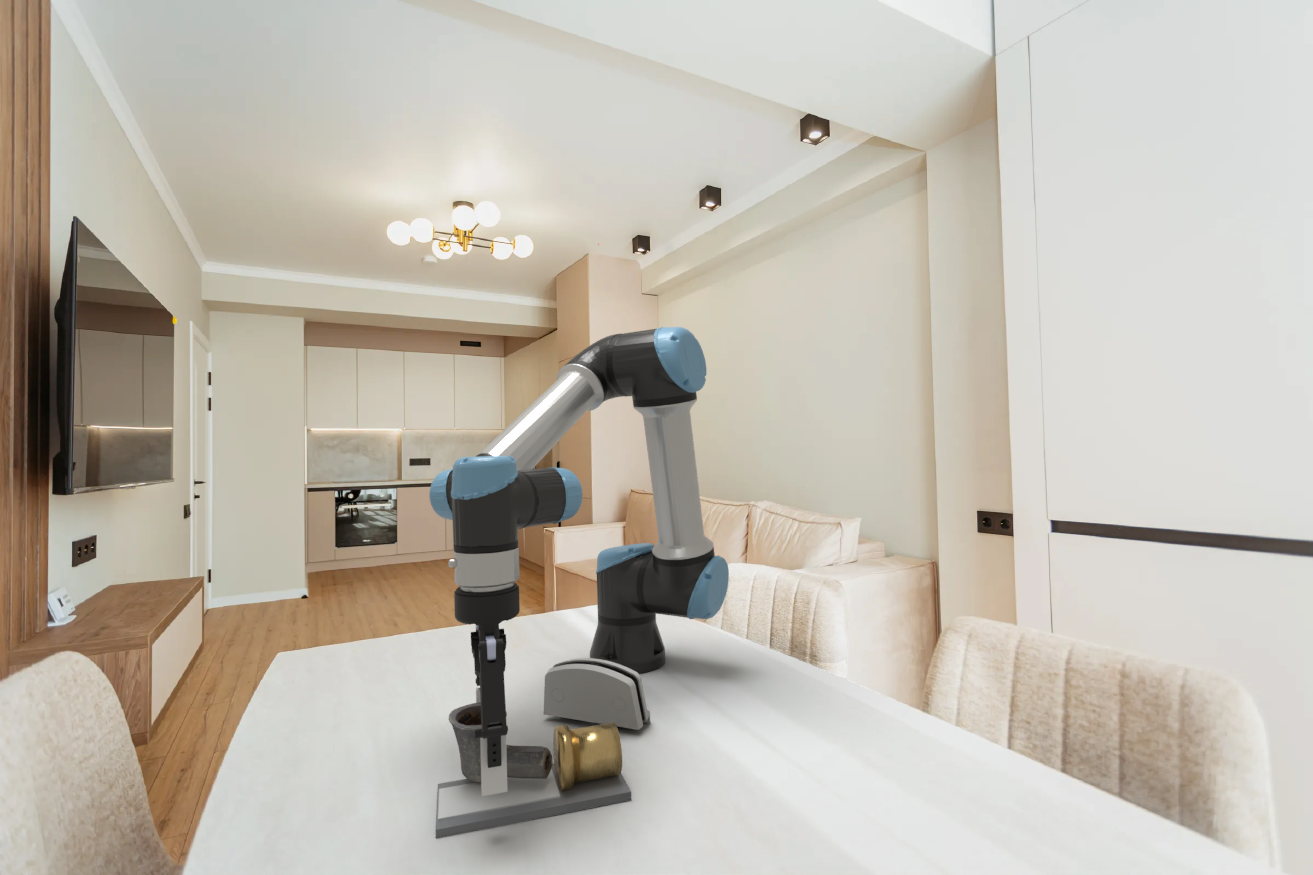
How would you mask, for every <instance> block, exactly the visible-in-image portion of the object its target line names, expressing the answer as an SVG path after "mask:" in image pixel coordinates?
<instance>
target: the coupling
mask: <svg viewBox="0 0 1313 875" xmlns="http://www.w3.org/2000/svg"><path fill="white" fill-rule="evenodd" d="M552 741H553V742H552V743H553V746H552V747H553V750H552V751H553V764H554V765H555V773H556V777H557V781H558V784H559V787H560V790H561V791H564V790H570V789H573V787H574V783H578V782H583V781H588V780H594V779H599V778H605V777H610V776H615V775H620V774H621V773H622V770H623V751H622V750H623V749H622V743H621V742H622V741H621V737H620V731H619V729H618V726H616V724H615V723H607V724H596V725H590V726H582V727H577V728H571V729H570V727H569V725H568V724H562V725H556V726H554V729H553V739H552Z"/></svg>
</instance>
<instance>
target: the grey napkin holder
mask: <svg viewBox="0 0 1313 875" xmlns="http://www.w3.org/2000/svg"><path fill="white" fill-rule="evenodd" d="M543 688H544V689H543V690H544V692H543V693H544V694H543V715H545V716H552V717H557V718H565V719H571V720H576V721H582V722H588V723H593V724H598V725H601V724H607V723H615V724H616V726H617V728H618V727H619V728H624V729H630V730H638V731H639V730H641V729H642V728H643V727H644V724H646V725H647V724H648V725H650V724H651V723H652V721H651V712H650V710H649V709H648V708H647V703H646V698H645V697H646V696H645V692H644V687H643V682H642V677H641V675H640V673H637V672H636V671H634V670H632V669H630V668H628V667H625V666H623V665H620V664H617V663H614V662H611V661H607V660H601V659H594V658H590V657H589V658H588V657H583V658H581V657H580V658H573V659H568V660H564V661H561V662H557V663H556V664H554V665H553V666H552V667H550V668H549V669H548V671H547V672H546V674H545V675H544V686H543Z"/></svg>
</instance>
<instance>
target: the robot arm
mask: <svg viewBox="0 0 1313 875" xmlns="http://www.w3.org/2000/svg"><path fill="white" fill-rule="evenodd" d="M706 363H707V362H706V358H705V353H704V351H703V348H702V346H701V344H700V342H699V340H698V339H697V338H696V337H695V335H694V333H692V332H691V331H690V330H689V329H687V328H685V327H682V326H669V327H663V326H661V327H658V328H651V329H646V330H645V329H644V330H638V331H632V332H631V331H630V332H626V333H625V332H624V333H616V334H611V335H608V336H605V337H602V338H601V339H598V340H597V341H595V342H594V343H592V344H590V345H589V346H587V347H585V348H584V349H583V350H582V351H580V352H579V353H578V354H576V355H575V356H573V358H571V359H570V360H569V361H568V362H567V363H565V364H564V365H563V366H562V367H561V368H560V369H559V370H558V372H557V375H556V380H555V382H553V383H552V384H551V385H550V386H549V387H548V388H547V389H546V390H545V391H544V392H543V393H542V394H541V395H539V396H538V398H536V399H535V401H533V402H532V403H531V404H530V405H529V406H528V407H526V409H524V410H523V412H521V413H520V414H519V415H518V416H517V417H516V418H515V419H514V420H513V421H512V422H511V423H510V424H508V425H507V427H506V428H504V429H503V430H502V431H501V432H500V433H499V434H498V435H497V436H495V438H494V439H493V440H492V441H490V442H489V443H488V444H487V445H486V446H485V447H484V448H483V449H482V450H481V451H480V452H478V454H476V455H475V456H463V457H462V456H461V457H459V458H457V459H456V460H455V461H454V462H453V464H452V465H453V466H452V468H451V469H446V470H443V471H441V472H440V473H438V474H437V475H436V476H435V477H434V478H433V481H432V482H431V484H430V487H429V494H428V495H429V496H428V497H429V503H430V505H431V507H432V509H433V511H434V512H435V513H436V515H438V516H439V517H441V518H443V519H445V520H449V521H452V535H453V536H452V538H453V539H452V540H453V551H454V552H453V556H454V558H451V559H448V563H447V566H448V567H449V568H455V569H454V572H453V573H454V574H453V575H454V578H453V581H454V584H456V586H458V587H457V588H456V589H455V591H454V592H453V594H454V595H453V597H454V598H453V599H454V601H453V602H454V604H453V605H454V618H455V620H456V621H457V622H459V623H461V624H464V625H475V631H470V645H471V653H472V657H473V659H474V660H473V661H474V674H475V684H476V686H477V687H476V688H475V699H476V700H475V703H479V702H481V723H482V728H481V729H480V730H477V731H475V739H477V738H480V747H481V792H482V796H487V795H492V794H498V793H503V792H507V749H506V745H507V734H508V731H509V727H508V725H507V716H506V713H507V709H506V693H505V692H506V690H505V689H506V688H505V671H506V666H507V665H506V664H507V662H506V648H507V634H506V633H505V628H500V624H501V623H502V622H504V621H506V622H507V621H510V620H513V619H514V618H516V617H518V615H519V613H520V608H521V607H520V586H519V585H518V584H517V583H516V582H517V581H518V580H519V579H520V549H519V548H520V546H519V530H521V529H525V528H531V527H537V526H543V525H544V526H545V525H551V524H553V525H557V524H558V523H560V522H564V521H567V520H570V519H571V518H573V517H574V516H575V515H577V513H578V511H579V510H580V508H581V506H582V502H583V487H582V484H581V482H580V479H579V478H578V476H577V475H576V474H575V473H574V472H573V471H571V470H570V469H567V468H563V467H555V466H552V467H551V466H550V467H549V466H548V467H545V468H542V467H541V468H536V466H537V465H538V464H539V463H540V461H542V459H543V458H544V457H546V456H547V454H548V453H549V452H550V451H551V450H552V449H553V448H554V447H555V446H556V444H557V443H559V442H560V440H561V439H562V438H563V437H564V436H565V435H566V434H567V433H568V432H569V431H570V430H571V428H572V427H573V426H574V425H575V424H576V423H577V422H578V421H579V420H580V419H581V418H582V417H584V415H585V414H586V413H587V412H588V411H589V412H590V411H594V410H596V409H597V408H599V407H600V406H601V405H602V404H603V403H604V402H605V401H608V400H610V399H611V400H613V399H615V398H621V397H626V398H627V397H631V398H632V405H633V409H634V410H636V411H637V412H638V413H639V414H641V416H642V418H643V425H644V426H643V427H644V433H645V444H646V451H647V457H648V465H649V474H650V481H651V482H650V483H651V488H652V489H651V492H652V495H653V496H652V498H653V505H654V513H655V522H656V527H657V528H656V529H657V537H658V541H657V542H656V543H655V545H654V543H651V542H643V543H640V542H639V543H633V544H626V545H618V546H613V547H609V548H605V549H603V550H601V551H600V552H599V553H598V555H597V557H596V559H597V560H596V571H595V574H596V592H597V593H596V596H597V600H596V602H597V625H596V629H595V633H594V636H593V641H592V643H591V647H590V650H589V658H594V659H601V660H607V661H611V662H614V663H617V664H620V665H623V666H625V667H628V668H630V669H632V670H634V671H636V672H637V673H638V674H642V673H647V672H651V671H654V670H657V669H659V668H661V667H662V666H663V665H665V663H666V661H665V660H666V658H667V657H666V648H665V645H664V642H663V639H662V638H663V637H662V636H661V633H660V630H659V627H658V624H657V617H656V616H657V614H658V615H664V616H671V617H672V616H673V617H680V618H687V619H689V620H694V619H700V620H709V619H711V618H713V617H714V616H715V615H716V614H718V612H720V610H721V608H722V606H723V604H724V602H725V599H726V596H727V592H728V587H729V577H730V576H729V575H730V573H729V571H730V570H729V565H728V562H727V561H726V559H725V558H724V557H723V556H721V555H715V547H714V543H713V541H712V540H711V539H709V537H707V536H705V531H704V530H705V528H704V523H703V522H704V521H703V514H702V512H703V511H702V505H701V498H700V497H701V495H700V486H699V480H698V479H699V477H698V470H697V462H696V461H697V460H696V459H697V458H696V452H695V444H694V435H693V428H692V427H693V426H692V417H691V409H692V407H693V406H694V405H695V404H696V402H697V400H698V397H697V392H699V391H700V390H702V389H703V388H704V386H705V384H706V380H707V379H706V376H707V364H706ZM660 666H661V667H660ZM495 722H500V723H495ZM490 723H494V724H490Z"/></svg>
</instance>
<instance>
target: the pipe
mask: <svg viewBox="0 0 1313 875" xmlns="http://www.w3.org/2000/svg"><path fill="white" fill-rule="evenodd" d="M507 715H508V713H507V712H506V717H507ZM448 722H449V723H450V724H451V727H452V729H453V732H454V736H455V740H456V743H457V747H458V752H459V758H460V769H461V773H462V776H463V777H465V779H468V780H471V781H474V782H479V783H481V747H480V738H477V739H475V731H477V730H480V729H481V728H482V723H481V702H479V703H476V702H473V703H470V704H465V705H463V706H459V707H457V708H454V709H453V710H451V711H450V712H449V714H448ZM495 723H500V722H495ZM490 724H494V723H490ZM506 749H507V777H511V778H532V779H546V778H547V777H548V775H549V773H550V771H551V768H552V764H553V756H552V753H551V751H550V749H549V747H545V745H544V746H543V745H541V746H539V745H537V746H536V745H510V744H506Z"/></svg>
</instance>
